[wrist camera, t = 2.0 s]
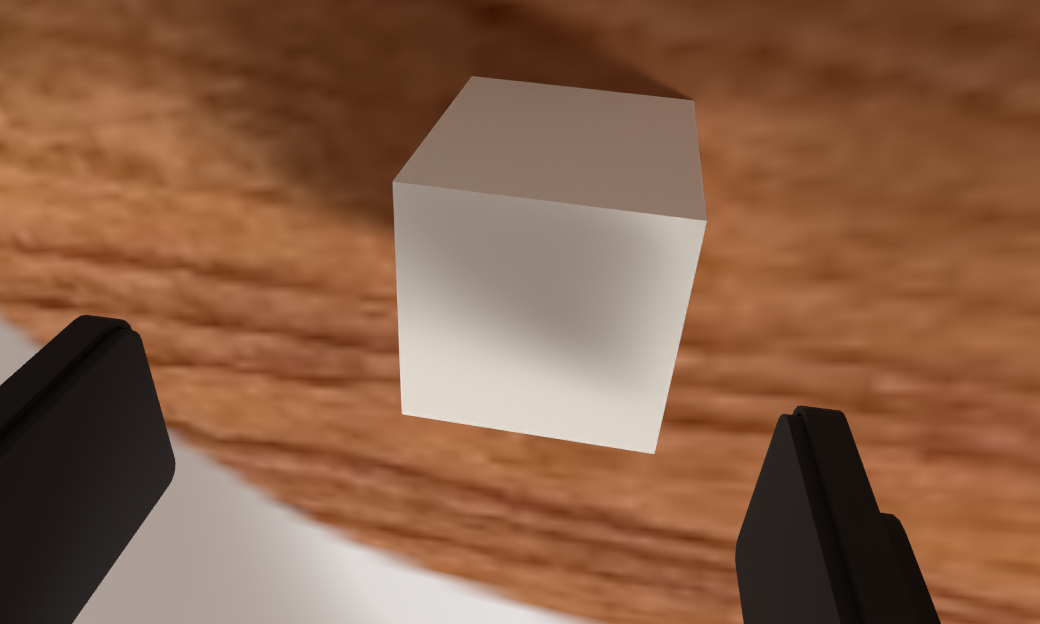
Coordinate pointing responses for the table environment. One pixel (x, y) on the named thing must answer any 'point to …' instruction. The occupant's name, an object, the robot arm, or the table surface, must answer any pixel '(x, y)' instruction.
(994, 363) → the table surface
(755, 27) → the table surface
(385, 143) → the table surface
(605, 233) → the white block
